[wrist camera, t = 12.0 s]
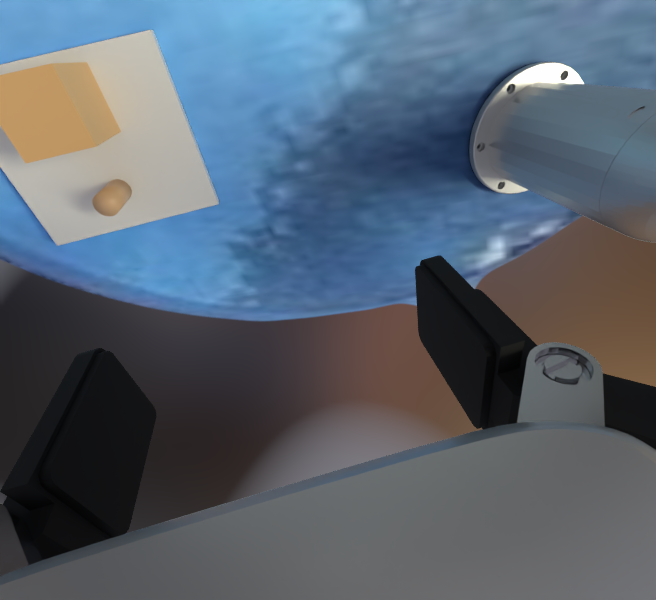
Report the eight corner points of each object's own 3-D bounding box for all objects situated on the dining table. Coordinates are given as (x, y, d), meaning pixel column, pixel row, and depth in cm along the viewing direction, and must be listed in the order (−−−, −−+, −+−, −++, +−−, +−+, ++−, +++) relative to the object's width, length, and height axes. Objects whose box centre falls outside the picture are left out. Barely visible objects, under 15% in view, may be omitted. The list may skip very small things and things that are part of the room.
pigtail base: (153, 30, 28) (137, 25, 24) (219, 200, 36) (215, 219, 32) (-54, 78, 27) (-107, 82, 23) (61, 241, 35) (37, 265, 31)
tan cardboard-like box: (86, 62, 27) (51, 63, 22) (121, 131, 30) (96, 146, 25) (21, 77, 27) (-30, 81, 22) (62, 145, 30) (25, 163, 25)
